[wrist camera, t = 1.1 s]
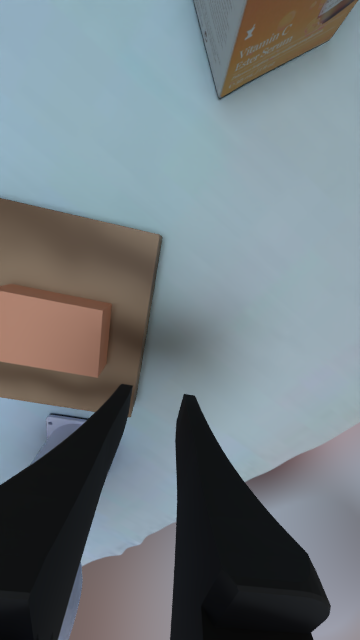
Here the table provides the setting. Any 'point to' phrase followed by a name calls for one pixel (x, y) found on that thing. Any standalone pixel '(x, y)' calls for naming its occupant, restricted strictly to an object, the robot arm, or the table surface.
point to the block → (53, 330)
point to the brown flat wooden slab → (80, 295)
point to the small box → (263, 34)
